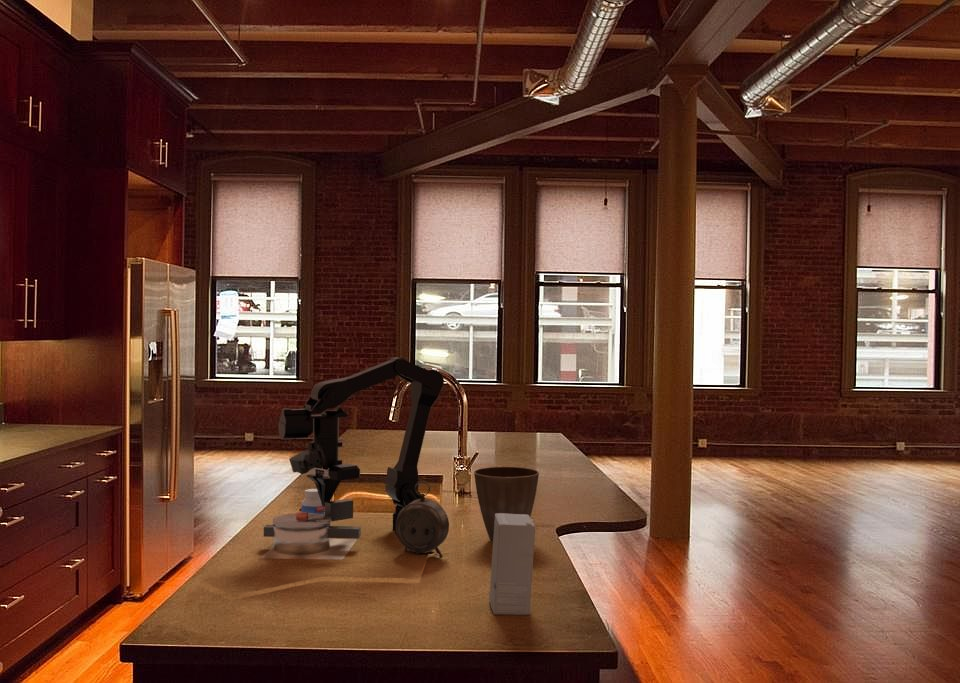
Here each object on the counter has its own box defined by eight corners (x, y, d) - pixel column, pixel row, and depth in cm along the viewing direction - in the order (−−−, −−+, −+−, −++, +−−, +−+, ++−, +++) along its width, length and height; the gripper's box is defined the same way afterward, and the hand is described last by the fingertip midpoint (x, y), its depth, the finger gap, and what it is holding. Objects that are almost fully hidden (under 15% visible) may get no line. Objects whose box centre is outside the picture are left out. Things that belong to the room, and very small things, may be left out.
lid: (292, 534, 183) (292, 514, 183) (261, 524, 192) (262, 505, 192) (366, 521, 196) (366, 503, 196) (334, 512, 205) (334, 495, 205)
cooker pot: (257, 554, 186) (257, 530, 186) (272, 540, 198) (272, 518, 198) (354, 556, 185) (355, 532, 185) (363, 542, 197) (364, 520, 197)
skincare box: (488, 601, 158) (489, 512, 158) (528, 600, 159) (529, 512, 159) (493, 616, 150) (494, 522, 150) (535, 615, 150) (536, 522, 150)
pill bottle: (318, 534, 208) (319, 492, 208) (297, 532, 210) (297, 491, 209) (327, 529, 214) (328, 488, 214) (306, 527, 215) (307, 487, 215)
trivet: (357, 542, 200) (357, 539, 200) (342, 563, 182) (342, 559, 182) (282, 541, 201) (282, 537, 201) (260, 561, 183) (260, 557, 183)
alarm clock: (449, 555, 190) (450, 480, 190) (441, 562, 185) (442, 484, 185) (401, 551, 193) (402, 477, 193) (392, 557, 188) (393, 481, 188)
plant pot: (508, 552, 194) (509, 479, 194) (459, 540, 204) (460, 471, 204) (551, 541, 205) (552, 471, 205) (502, 530, 215) (503, 464, 215)
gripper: (272, 436, 202) (271, 504, 202) (320, 444, 189) (319, 517, 189) (313, 433, 210) (312, 498, 210) (362, 440, 197) (361, 510, 197)
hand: (325, 506), depth 201 cm, fingers closed
